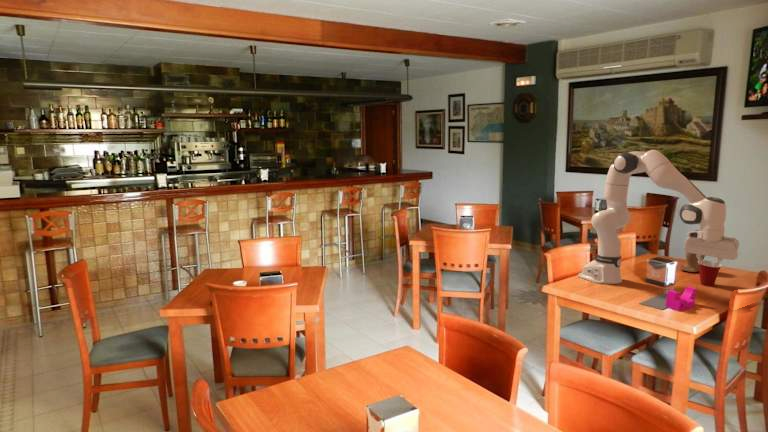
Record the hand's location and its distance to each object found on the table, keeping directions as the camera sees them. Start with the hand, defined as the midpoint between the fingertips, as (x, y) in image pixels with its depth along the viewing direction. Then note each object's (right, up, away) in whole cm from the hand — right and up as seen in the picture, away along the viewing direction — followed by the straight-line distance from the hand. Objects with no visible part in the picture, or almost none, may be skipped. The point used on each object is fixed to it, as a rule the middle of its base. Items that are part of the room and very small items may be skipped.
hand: (708, 265), depth 221 cm
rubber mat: (-10, -19, +17) cm, 28 cm away
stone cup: (+35, -10, +68) cm, 77 cm away
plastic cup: (+26, -14, +41) cm, 51 cm away
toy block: (-5, -20, +11) cm, 23 cm away
